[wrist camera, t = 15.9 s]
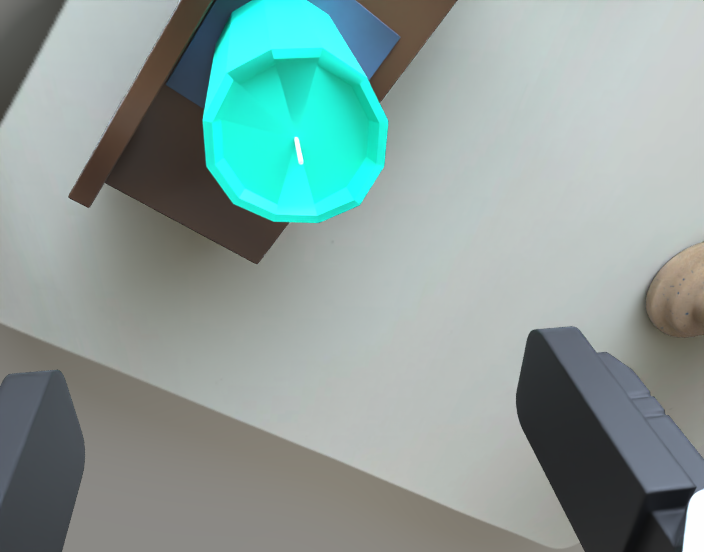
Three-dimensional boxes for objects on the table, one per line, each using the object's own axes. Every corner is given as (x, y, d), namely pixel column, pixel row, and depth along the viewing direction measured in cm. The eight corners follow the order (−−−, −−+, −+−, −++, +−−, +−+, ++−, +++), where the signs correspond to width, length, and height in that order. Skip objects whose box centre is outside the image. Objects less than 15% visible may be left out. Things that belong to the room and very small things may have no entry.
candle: (372, 64, 29) (438, 161, 19) (282, 150, 31) (300, 281, 21) (280, -41, 26) (302, 10, 16) (186, 61, 28) (153, 163, 18)
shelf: (255, 209, 40) (258, 295, 32) (108, 123, 36) (67, 198, 28) (460, -74, 33) (532, -58, 25) (307, -222, 29) (332, -263, 21)
